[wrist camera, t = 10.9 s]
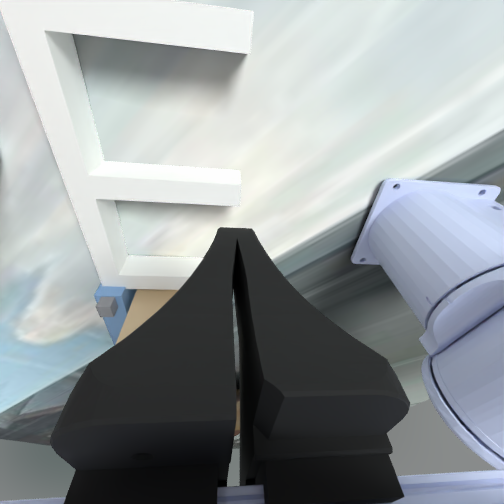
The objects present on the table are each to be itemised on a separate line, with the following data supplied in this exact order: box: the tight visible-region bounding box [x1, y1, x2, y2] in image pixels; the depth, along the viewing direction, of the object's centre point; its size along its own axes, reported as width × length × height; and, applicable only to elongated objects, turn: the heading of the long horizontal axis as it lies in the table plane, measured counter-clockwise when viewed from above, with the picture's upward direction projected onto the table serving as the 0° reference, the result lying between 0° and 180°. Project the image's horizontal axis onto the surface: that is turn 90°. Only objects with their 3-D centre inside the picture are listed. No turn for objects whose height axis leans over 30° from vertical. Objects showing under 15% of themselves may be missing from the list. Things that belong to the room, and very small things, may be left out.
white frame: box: [0, 0, 254, 345], centre depth 19 cm, size 11×26×4 cm, turn 175°
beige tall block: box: [115, 289, 178, 345], centre depth 21 cm, size 4×4×9 cm
